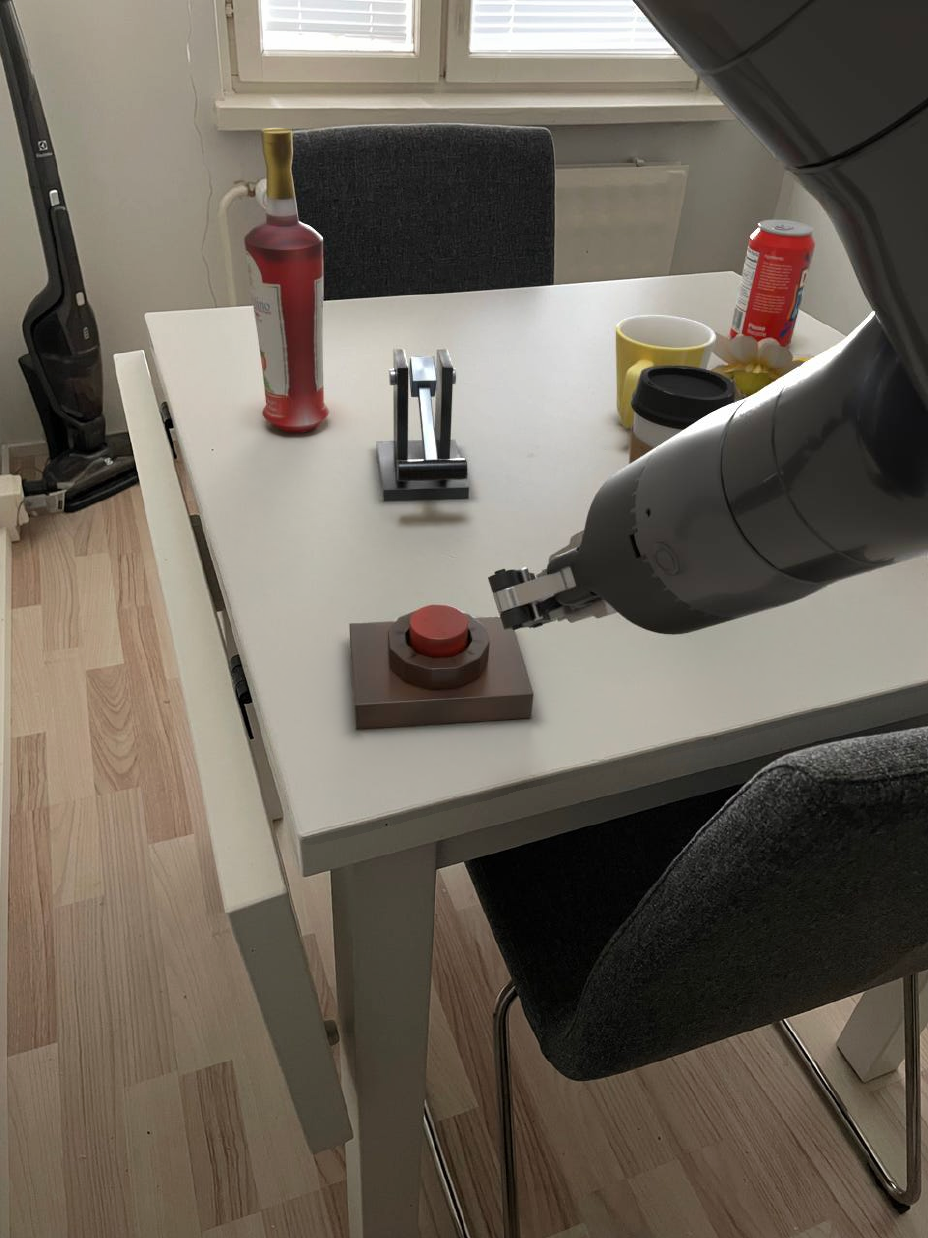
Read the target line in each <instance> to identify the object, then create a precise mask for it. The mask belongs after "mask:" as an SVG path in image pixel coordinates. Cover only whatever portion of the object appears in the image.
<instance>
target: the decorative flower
mask: <svg viewBox="0 0 928 1238" xmlns="http://www.w3.org/2000/svg"><path fill="white" fill-rule="evenodd" d="M714 333H715V334H716V341H715V344H714V347H713V350H712V353H713V354H714V355H715V356H716V357H718V358H719V359H720V360H722V361H723V362H725V363H726V365H722V366H718V367H716V368H712V369H709V370H710V371H713V372H716V373H719V374H721V375H723V376H725V377H727V378H728V379H729V380H731V381H732V380H733V381H734V383H735V385H736V387H737V389H738V391H739V392H740V393H741V394H743V395H745V396H747V397H750V396H751V395H753V394H755V393H757V392H759V391H760V390H762V389H763V388H765V387H767V386H768V385H770V384H771V383H773V382H775V381H776V380H778V379H780V378H781V377H783V376H784V375H786V374H788V373H789V372H791V371H792V370H794V369H796V368H797V367H799V366H800V365H802V364H804V363H805V362H807V361H809V360H810V359H812V358H814V357H815V356H814V355H812V354H807V353H798V354H794V355H793V354H792V351H790V350H789V348H787V347H782V346H780V344H779V343H778V341H777V340H775V339H773V338H765V339H763V340H761V341H759V342H757V341H756V340H755V339H754V338H753V337H750V336H744V335H743V334H741V333H739V334H737V335H736V337H734V338H733V339H730V338H728V336H724V335H723V334H720V333H719V332H716V331H714Z"/></svg>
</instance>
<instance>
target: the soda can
mask: <svg viewBox="0 0 928 1238" xmlns="http://www.w3.org/2000/svg"><path fill="white" fill-rule="evenodd" d="M813 232H814V229H813V227H811V226H810V225H808V224H806V223H802V222H800V221H794V220H789V219H788V220H787V219H765V220H761V221H759V223H758V227H757V229H755V231H753V233H751V235H750V237H749V239H748V240H749V241H748V246H747V250H746V255H745V260H744V264H743V269H742V272H741V278H740V283H739V288H738V292H737V296H736V301H735V307H734V310H733V315H732V320H731V324H730V331H729V337H730V340H732V339H733V338H734V337H736V335H737V334H739V333H741V334H743V335H744V336H750V337H753V338H754V339H755V340H756V341H757V342H759V341H761V340H763V339H765V338H773V339H775V340H777V341H778V343H779V344H780V346H782V347H785V348H787V347H789V346H790V344H791V341H792V339H793V334H794V330H795V327H796V323H797V318H798V315H799V311H800V307H801V304H802V300H803V295H804V291H805V288H806V284H807V279H808V275H809V271H810V267H811V265H812V260H813V257H814V256H813V255H814V252H815V247H816V242H815V240H814V236H813V234H812V233H813Z"/></svg>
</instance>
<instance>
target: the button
mask: <svg viewBox="0 0 928 1238" xmlns="http://www.w3.org/2000/svg"><path fill="white" fill-rule="evenodd" d="M414 611H415V612H414V613H413V614H412V616H411V618H410V645H411V647H412V648H413V650H414V651H415V652H417V653H418V654H421V655H424V656H427V657H431V658H448V657H453V656H455V655H458V654H460V653H461V652H462V651H463V650H464V649H465V647H466V645H467V636H468V619H467V617H466V615H465V614H464V613H465V612H464V611H462V610H460V609H458V608H457V607H455V606H452V605H448V604H447V605H446V604H430V605H429V604H428V605H425V606H422V607H420V608H418V609H416V610H414ZM463 612H464V613H463Z"/></svg>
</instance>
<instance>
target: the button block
mask: <svg viewBox="0 0 928 1238" xmlns="http://www.w3.org/2000/svg"><path fill="white" fill-rule="evenodd" d="M415 611H416V610H414V611H410V612H409V613H406V614H403V615H402V616H399V617H398V618H397V619H396V620H392V621H391V620H389V621H371V622H369V621H368V622H350V623H348V625H349V626H348V627H349V649H350V650H349V651H350V665H351V680H352V692H353V707H354V708H353V709H354V723H355V729H356V730H362V729H376V728H377V729H378V728H393V727H395V728H396V727H408V726H410V727H411V726H423V725H439V724H455V723H471V722H472V723H473V722H486V721H502V720H504V721H505V720H519V719H531V718H532V713H533V712H532V711H533V703H534V694H535V693H534V691H533V687H532V684H531V681H530V677H529V674H528V670H527V667H526V664H525V659H524V656H523V654H522V651H521V647H520V644H519V643H520V642H519V640H518V637H517V634H516V633H517V632H516V630H513V629H504V627H503V624H502V621H501V618H500V615H493V616H475V617H474V616H472V615H471V614H470V613H467V612H464V611H462V612H463V613H464V614H465V615H466V617H467V619H468V636H467V645H466V647H465V649H464V650H463V651H462V652H461V653H460V654H458V655H455V656H453V657H448V658H431V657H427V656H424V655H421V654H418V653H417V652H415V651H414V650H413V648H412V647H411V645H410V618H411V616H412V614H413V613H414V612H415Z"/></svg>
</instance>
